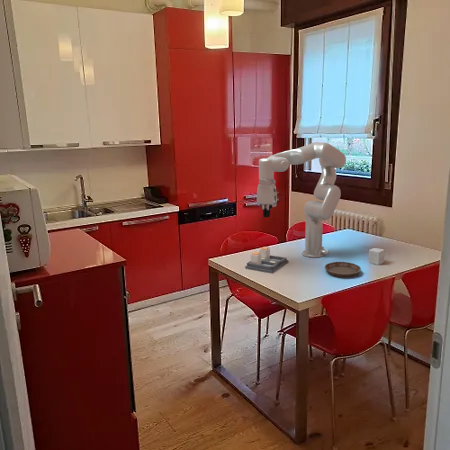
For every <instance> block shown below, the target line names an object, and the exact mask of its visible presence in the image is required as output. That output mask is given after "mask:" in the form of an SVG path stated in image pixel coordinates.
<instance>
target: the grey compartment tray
mask: <svg viewBox="0 0 450 450" xmlns="http://www.w3.org/2000/svg"><path fill="white" fill-rule="evenodd" d="M287 264H289V259H288V257H284V256H277V255H271V254H270V259H265V258H262V264H260V265H259V264H254V263H251V260H249V261H248V262H246V265H245V267H244V268H245V269H246V270H252V271H256V272H262V273H268V274H274V273H275V272H277V270H279V269H281V268H282V267H284V266H285V265H287Z"/></svg>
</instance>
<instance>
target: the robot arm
mask: <svg viewBox="0 0 450 450" xmlns="http://www.w3.org/2000/svg"><path fill="white" fill-rule="evenodd" d="M315 159H318V162H319V165H320V168H321V174H320V177H319V180H318V181H317V184H316V186H315V188H314V190H313V195H314V198H315V199H316V200H308V201H306V202H305V204H304V207H303V214H304V219H305V231H304V232H305V236H304V238H305V241H304V243H305V244H304V246H305V248H304V249H305V250H303V251H302V256H304V257H307V258H313V259H314V258H316V259H317V258H323V257H324V256H325V254H326V255H329V254H330V253H329V249H325V248H324V246H323V229H324V228H323V221H328V220H330V219H331V218H332V216H333V214H334V212H335V210H336V208H337V207H338V204H339V202H340V199H341V196H342V195H341V192H342V191H341V189H340V187H339V186H337V185H335V182H336V180H337V172H336V169H341V168H343V167H344V166H345V165H346V163H347V157H346V155H345V154H344V153H343V152H342V151H341V150H339V149H337V148H336V147H335V146H333V145H332V144H330V143H328V142H317V141H315V142H311V143H308V144H306V145H304V146H301V147H300V146H299V147H298V148H295V149H290V150H285V151H282V152H277V153H276V154H275V153H274V154H272V155H269V156H268V157H264V158H260V159H259V160H258V185H257V191H256V205H257V206H259V207H261V209H262V215H263V218H270V216H271V209H272V208H275V207H277V202H278V194H277V193H278V192H277V187H276V182H277V181H276V180H275V178H274V173H275V172H277V173H278V172H279V173H280V172H281V173H282V172H286V171H287V170H288V169H289V167H290V165H291V166H292V165H294V166H295V165H303V164H305V163H307V162H309V161H313V160H315Z"/></svg>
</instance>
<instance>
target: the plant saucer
mask: <svg viewBox="0 0 450 450" xmlns="http://www.w3.org/2000/svg"><path fill="white" fill-rule="evenodd" d="M324 269H325V271H326V272H327V273H328V274H329V275H330V276H333V277H337V278H352V277H355V276H357V275H358V274H359V273H360V272H361V269H362V268H361V267H360V266H359V265H358V264H356V263H352V262H348V261H347V262H346V261H334V262H329V263H327V264H325V265H324Z"/></svg>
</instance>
